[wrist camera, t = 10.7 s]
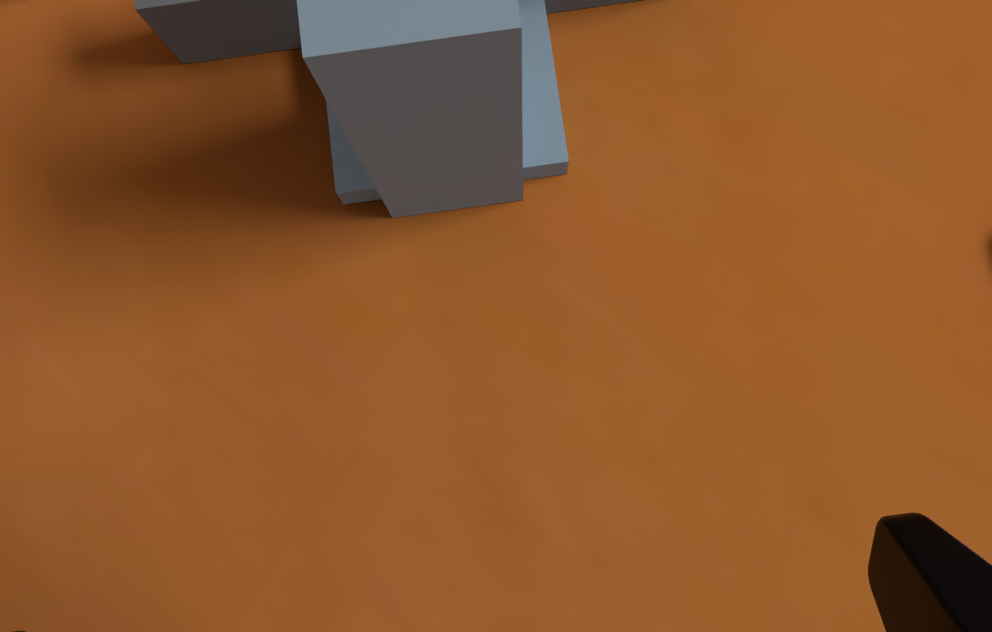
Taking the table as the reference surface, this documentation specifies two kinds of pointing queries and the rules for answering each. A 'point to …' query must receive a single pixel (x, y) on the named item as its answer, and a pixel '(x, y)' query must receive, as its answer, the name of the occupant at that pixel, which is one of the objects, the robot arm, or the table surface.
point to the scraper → (406, 87)
